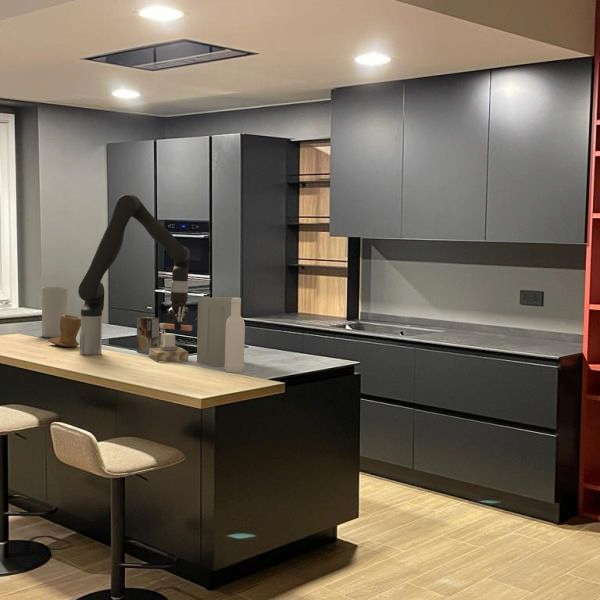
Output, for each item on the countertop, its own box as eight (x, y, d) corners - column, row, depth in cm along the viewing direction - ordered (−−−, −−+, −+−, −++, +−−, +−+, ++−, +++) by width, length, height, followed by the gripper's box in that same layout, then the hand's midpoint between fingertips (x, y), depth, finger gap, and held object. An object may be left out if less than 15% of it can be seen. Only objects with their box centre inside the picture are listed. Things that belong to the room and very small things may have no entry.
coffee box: (160, 352, 396) (160, 317, 395) (151, 353, 390) (152, 318, 389) (144, 350, 400) (145, 316, 399) (135, 352, 394) (136, 317, 393)
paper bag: (211, 367, 357) (213, 300, 355) (196, 362, 370) (197, 297, 368) (251, 364, 368) (253, 299, 366) (234, 359, 380) (236, 297, 378)
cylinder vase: (36, 336, 436) (37, 288, 434) (50, 334, 448) (51, 286, 446) (58, 338, 433) (58, 289, 431) (71, 335, 445) (72, 287, 443)
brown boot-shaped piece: (86, 347, 406) (86, 315, 405) (63, 348, 397) (63, 316, 396) (69, 343, 417) (70, 312, 415) (47, 345, 408) (47, 313, 407)
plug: (162, 360, 372) (163, 335, 371) (159, 358, 378) (159, 333, 377) (177, 359, 375) (178, 335, 374) (173, 357, 381) (174, 333, 380)
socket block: (156, 361, 367) (156, 352, 367) (149, 357, 380) (149, 348, 380) (188, 360, 373) (188, 351, 373) (179, 356, 386) (179, 347, 385)
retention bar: (188, 330, 378) (188, 326, 378) (158, 327, 385) (158, 323, 385) (192, 330, 380) (192, 325, 380) (162, 327, 388) (162, 322, 388)
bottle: (234, 368, 355) (235, 297, 353) (247, 371, 350) (249, 298, 348) (220, 370, 349) (222, 297, 347) (234, 373, 344) (236, 299, 342)
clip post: (158, 356, 383) (158, 329, 382) (155, 354, 388) (156, 328, 387) (169, 355, 385) (169, 329, 384) (166, 354, 390) (166, 327, 389)
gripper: (175, 292, 370) (173, 331, 371) (195, 291, 381) (193, 330, 382) (162, 290, 374) (160, 330, 375) (183, 290, 385) (181, 328, 386)
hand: (177, 330), depth 379 cm, fingers closed
